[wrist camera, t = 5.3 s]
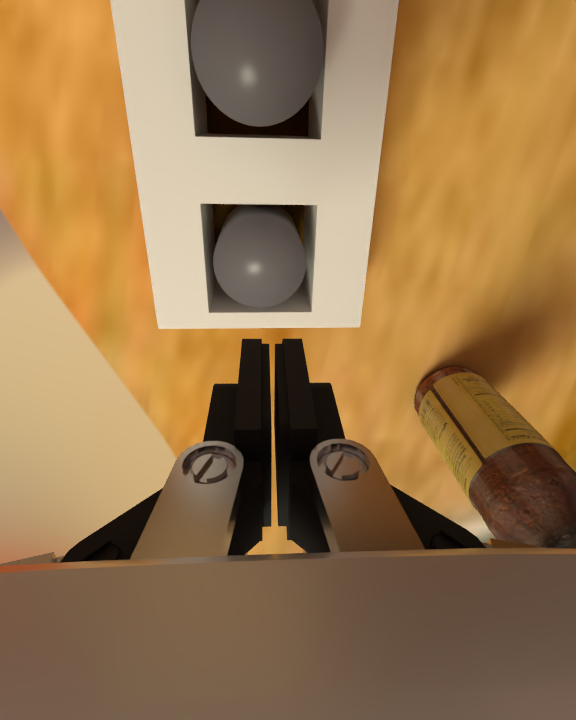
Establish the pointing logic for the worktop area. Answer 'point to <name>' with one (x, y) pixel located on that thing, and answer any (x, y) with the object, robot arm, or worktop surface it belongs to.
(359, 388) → the worktop surface
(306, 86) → the middle cap
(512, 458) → the sauce bottle
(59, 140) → the worktop surface
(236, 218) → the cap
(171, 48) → the button panel
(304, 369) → the robot arm
